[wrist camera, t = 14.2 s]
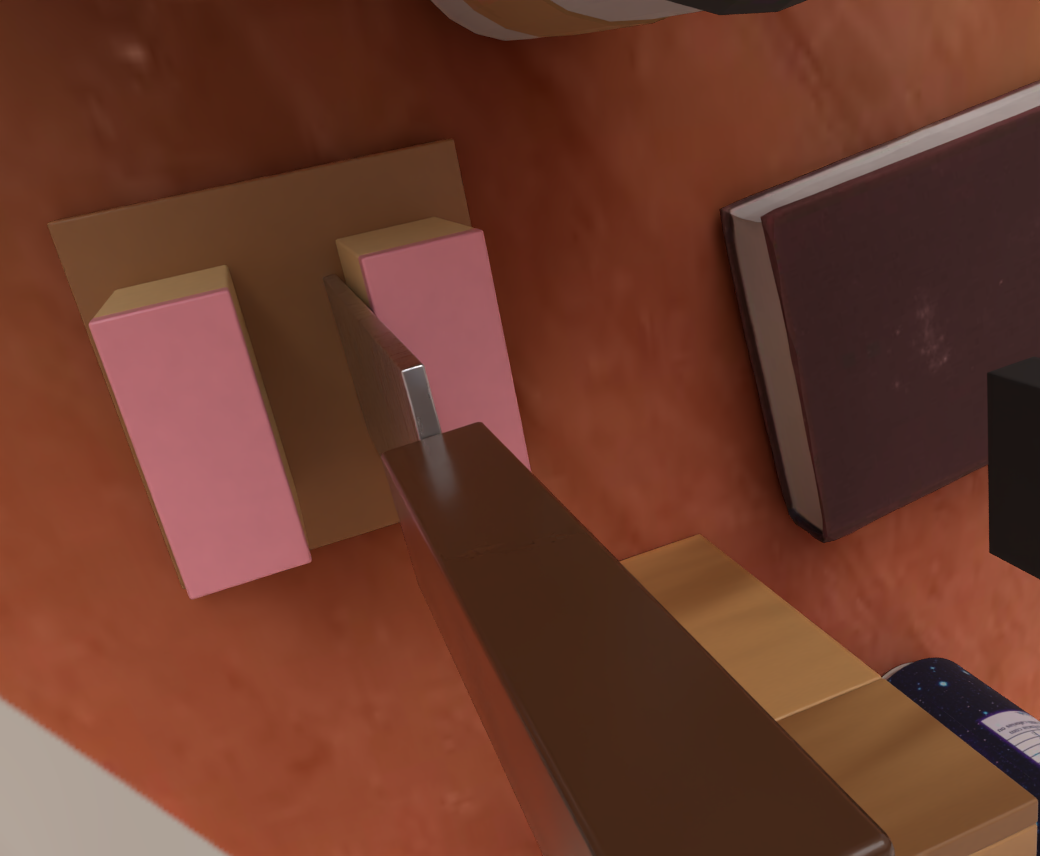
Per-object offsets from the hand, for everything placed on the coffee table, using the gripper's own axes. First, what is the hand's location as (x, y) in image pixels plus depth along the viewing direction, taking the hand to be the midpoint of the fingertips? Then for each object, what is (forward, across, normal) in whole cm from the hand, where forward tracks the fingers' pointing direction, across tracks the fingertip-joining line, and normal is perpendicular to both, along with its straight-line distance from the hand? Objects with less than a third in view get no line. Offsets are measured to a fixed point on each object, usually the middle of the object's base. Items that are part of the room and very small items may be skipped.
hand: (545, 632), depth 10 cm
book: (+18, +23, -4) cm, 30 cm away
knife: (+17, 0, 0) cm, 17 cm away
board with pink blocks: (+18, -1, 0) cm, 18 cm away
